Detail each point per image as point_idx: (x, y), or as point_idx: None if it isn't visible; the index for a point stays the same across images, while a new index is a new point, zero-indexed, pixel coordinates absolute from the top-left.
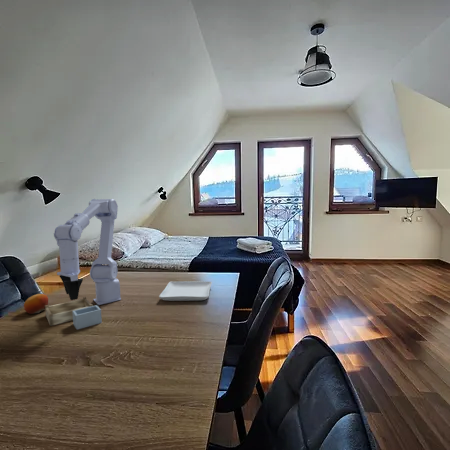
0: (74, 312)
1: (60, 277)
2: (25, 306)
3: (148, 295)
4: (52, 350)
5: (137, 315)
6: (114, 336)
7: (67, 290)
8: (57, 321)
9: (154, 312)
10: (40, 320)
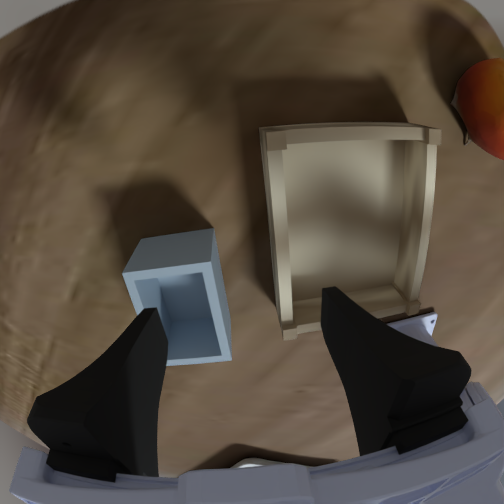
0: (177, 269)
1: (398, 380)
2: (488, 60)
3: (329, 436)
4: (11, 161)
5: (177, 406)
6: (48, 332)
7: (330, 313)
8: (264, 163)
9: (178, 432)
10: (367, 93)
